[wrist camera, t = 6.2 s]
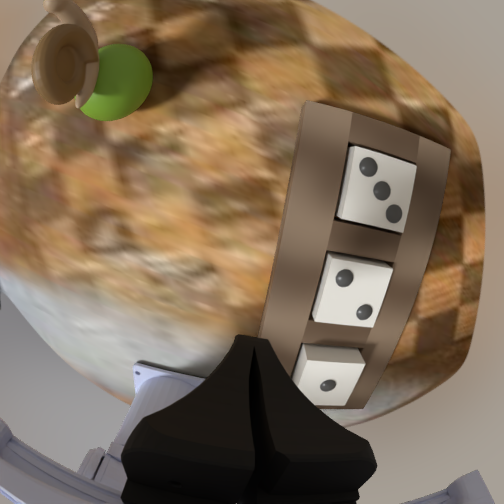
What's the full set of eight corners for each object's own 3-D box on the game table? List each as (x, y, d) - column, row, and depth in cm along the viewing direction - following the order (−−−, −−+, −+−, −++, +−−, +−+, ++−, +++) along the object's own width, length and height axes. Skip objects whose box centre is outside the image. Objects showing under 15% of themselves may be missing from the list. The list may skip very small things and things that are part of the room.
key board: (357, 394, 23) (363, 408, 22) (246, 387, 23) (245, 402, 21) (436, 150, 17) (450, 149, 15) (301, 107, 17) (306, 100, 15)
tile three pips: (387, 225, 19) (403, 233, 16) (331, 212, 19) (341, 218, 16) (399, 165, 17) (417, 165, 15) (343, 148, 17) (355, 145, 15)
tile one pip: (338, 386, 22) (344, 406, 19) (288, 382, 21) (291, 404, 19) (356, 345, 20) (365, 364, 18) (302, 340, 20) (307, 360, 18)
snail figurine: (166, 42, 15) (88, -48, 4) (162, 120, 17) (50, 73, 6) (103, 57, 16) (3, 2, 4) (97, 130, 17) (-28, 116, 6)
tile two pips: (362, 311, 21) (373, 328, 18) (308, 304, 21) (314, 322, 18) (379, 257, 19) (393, 269, 17) (323, 247, 19) (332, 258, 17)
